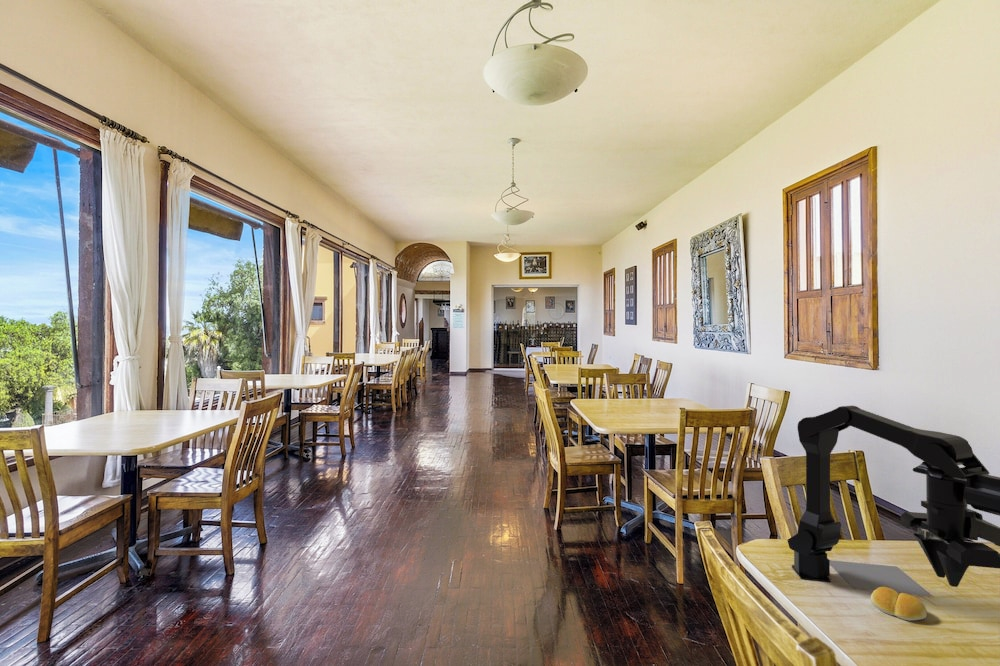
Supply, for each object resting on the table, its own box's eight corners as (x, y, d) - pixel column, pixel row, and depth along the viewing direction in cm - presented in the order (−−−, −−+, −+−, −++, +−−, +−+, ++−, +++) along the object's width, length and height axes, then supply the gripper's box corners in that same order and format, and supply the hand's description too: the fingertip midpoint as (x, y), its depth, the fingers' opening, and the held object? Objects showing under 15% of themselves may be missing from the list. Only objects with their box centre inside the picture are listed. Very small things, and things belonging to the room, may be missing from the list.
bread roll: (923, 627, 94) (921, 607, 94) (868, 609, 101) (866, 590, 101) (930, 611, 99) (929, 592, 99) (878, 594, 106) (876, 577, 106)
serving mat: (853, 589, 109) (853, 588, 109) (826, 560, 123) (826, 559, 123) (933, 597, 105) (933, 596, 105) (896, 567, 119) (896, 566, 119)
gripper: (1041, 523, 79) (1042, 615, 79) (961, 488, 97) (961, 563, 97) (962, 518, 81) (963, 607, 81) (898, 484, 100) (899, 557, 99)
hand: (947, 581), depth 90 cm, fingers open, 3 cm apart
